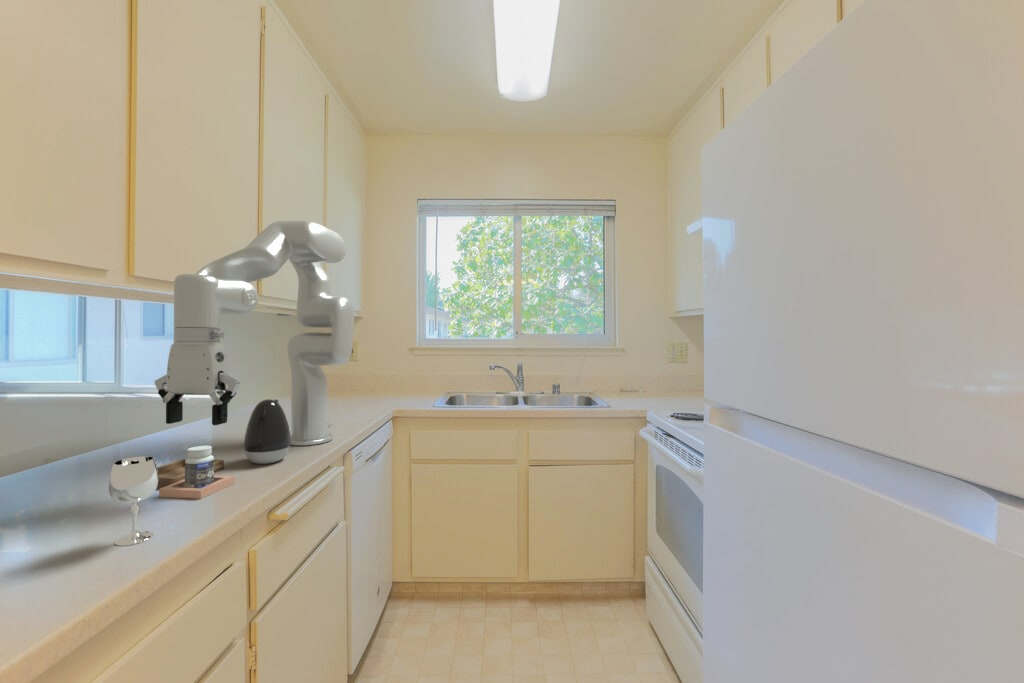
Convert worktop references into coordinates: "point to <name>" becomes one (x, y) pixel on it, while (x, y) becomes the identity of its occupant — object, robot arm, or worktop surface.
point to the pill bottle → (199, 467)
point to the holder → (196, 493)
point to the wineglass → (133, 490)
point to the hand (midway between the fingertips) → (196, 423)
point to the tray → (178, 472)
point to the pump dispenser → (267, 433)
